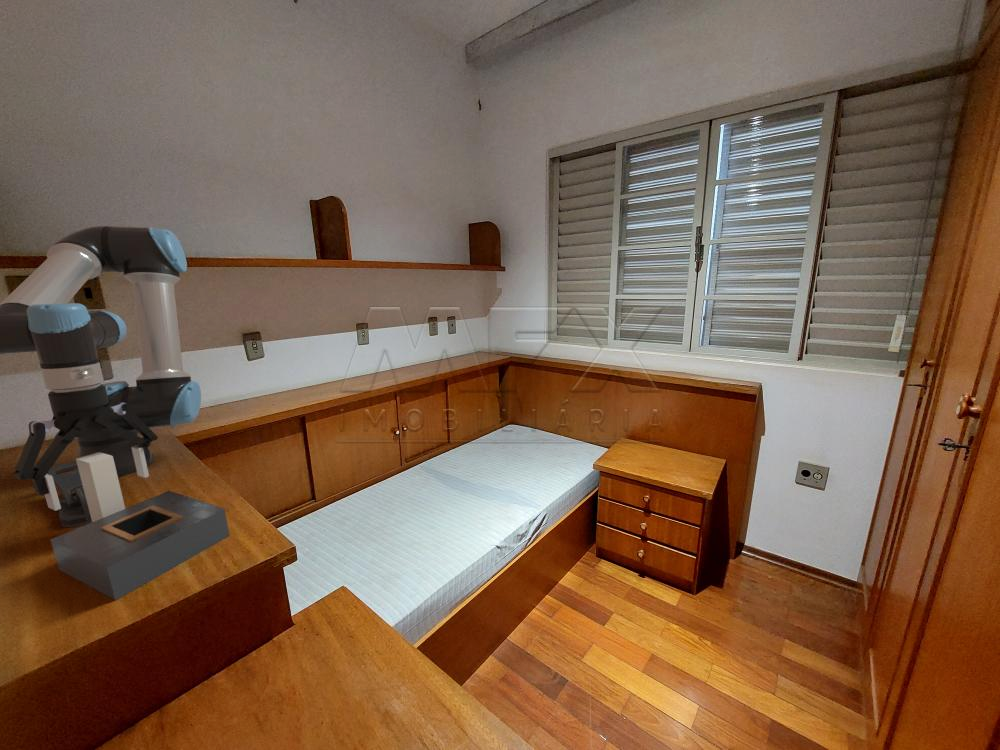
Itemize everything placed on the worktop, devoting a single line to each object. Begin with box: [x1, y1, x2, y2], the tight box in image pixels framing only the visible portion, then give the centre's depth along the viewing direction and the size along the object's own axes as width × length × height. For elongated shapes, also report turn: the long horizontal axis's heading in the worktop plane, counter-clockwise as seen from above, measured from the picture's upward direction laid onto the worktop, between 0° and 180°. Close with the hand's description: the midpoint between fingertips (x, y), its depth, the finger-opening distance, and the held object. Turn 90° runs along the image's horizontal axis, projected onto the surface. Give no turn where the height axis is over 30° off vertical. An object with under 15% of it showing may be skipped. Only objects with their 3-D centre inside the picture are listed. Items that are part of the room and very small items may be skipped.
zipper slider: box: [47, 460, 92, 529], centre depth 91 cm, size 9×7×25 cm
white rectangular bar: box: [75, 452, 126, 523], centre depth 79 cm, size 5×4×16 cm
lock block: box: [50, 490, 230, 601], centre depth 74 cm, size 18×18×6 cm
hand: (102, 491), depth 79 cm, fingers open, 13 cm apart
